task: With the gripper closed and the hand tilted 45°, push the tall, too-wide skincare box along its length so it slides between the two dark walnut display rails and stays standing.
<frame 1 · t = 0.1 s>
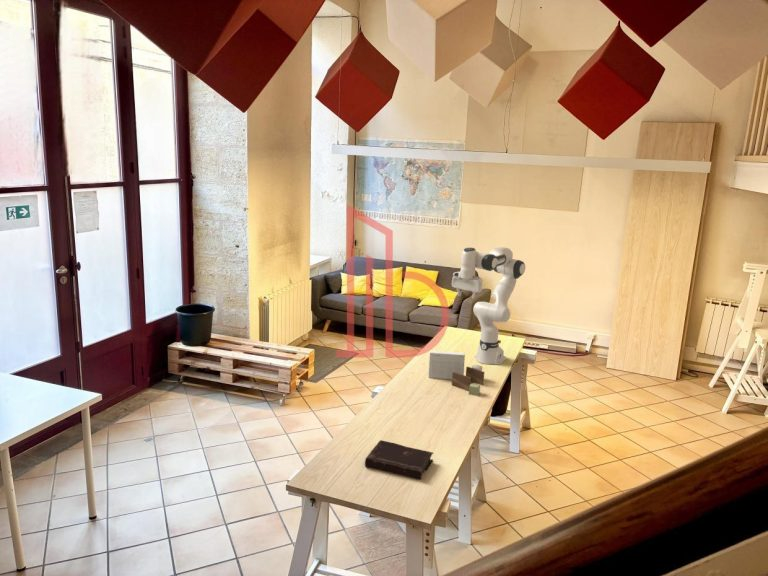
hand: (465, 297, 364), 48 cm above the table, tool pointing down, fingers open, 8 cm apart
diary: (399, 465, 259), on the table
olive block: (474, 393, 340), on the table
skincare box: (445, 378, 363), on the table
grey rounded capsule: (476, 379, 362), on the table
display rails: (467, 385, 352), on the table
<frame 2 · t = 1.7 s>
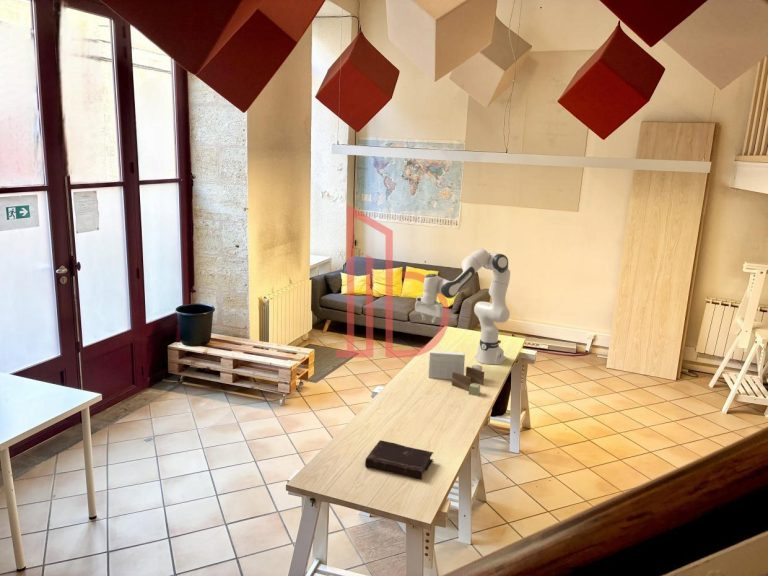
hand: (428, 321, 377), 29 cm above the table, tool pointing down, fingers open, 6 cm apart
nothing on the table moved.
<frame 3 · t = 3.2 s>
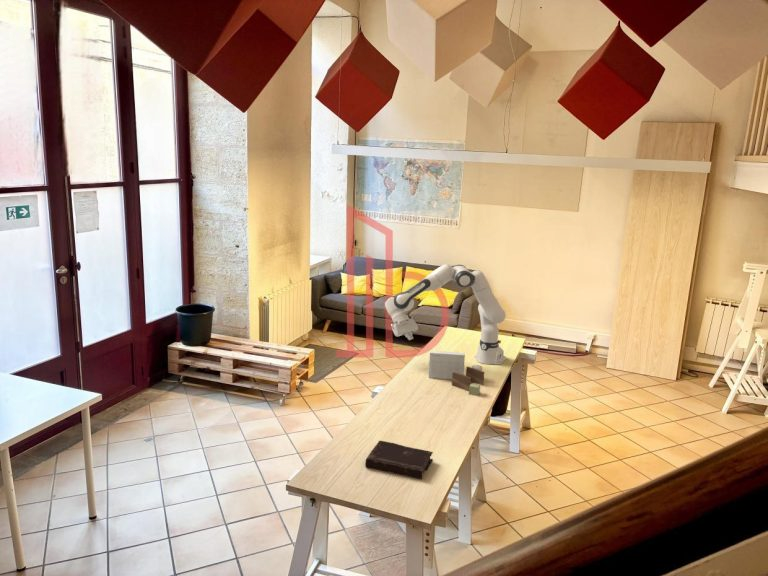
hand: (411, 339, 377), 18 cm above the table, tool tilted 45°, fingers closed
nothing on the table moved.
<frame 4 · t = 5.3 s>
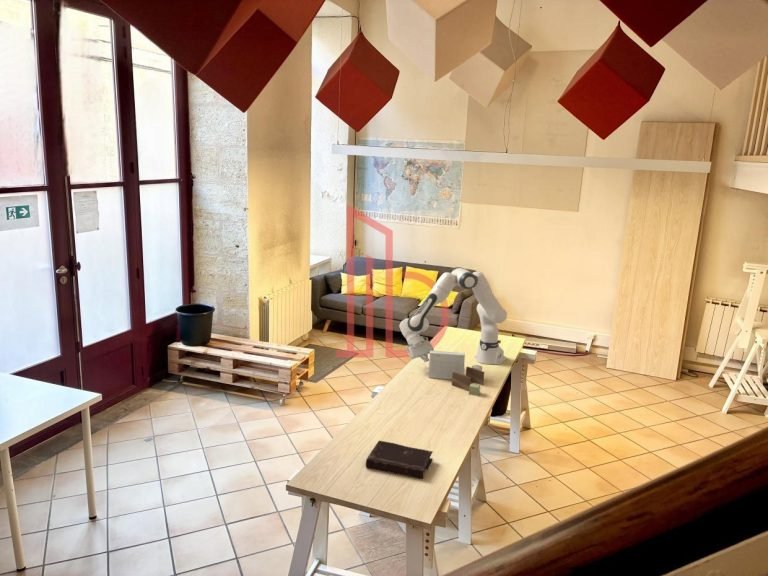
hand: (427, 361, 371), 6 cm above the table, tool tilted 45°, fingers closed
nothing on the table moved.
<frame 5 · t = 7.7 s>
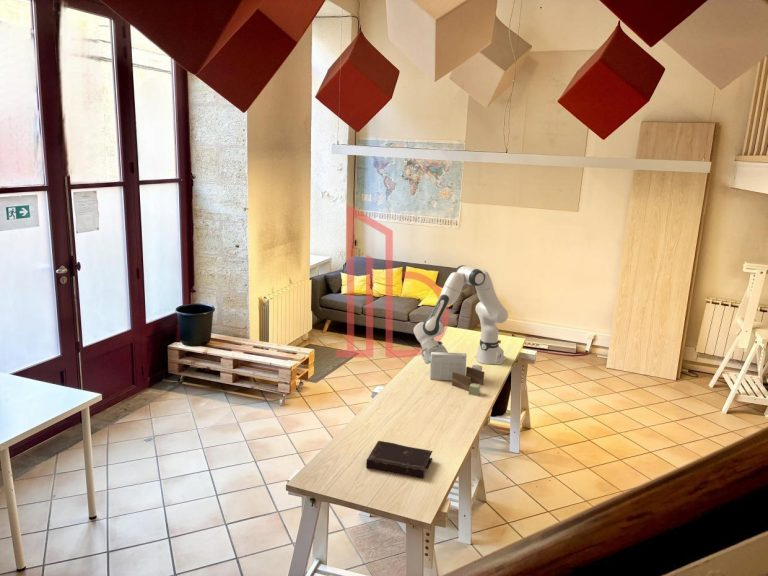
hand: (441, 366, 364), 6 cm above the table, tool tilted 45°, fingers closed
skincare box: (447, 379, 361), on the table
everything else where it was.
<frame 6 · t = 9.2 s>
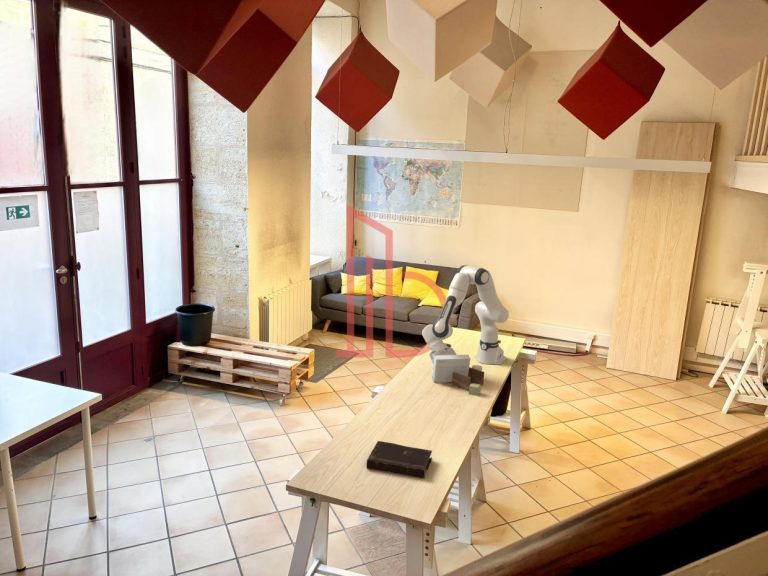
hand: (450, 369, 359), 6 cm above the table, tool tilted 45°, fingers closed
skincare box: (449, 380, 358), on the table, touching gripper
everything else where it was.
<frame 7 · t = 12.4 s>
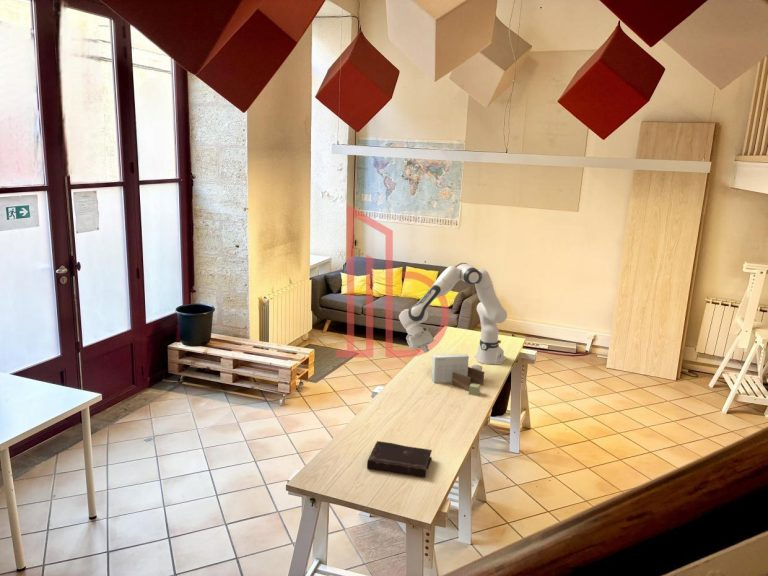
hand: (427, 351, 370), 12 cm above the table, tool tilted 45°, fingers closed
skincare box: (449, 381, 358), on the table
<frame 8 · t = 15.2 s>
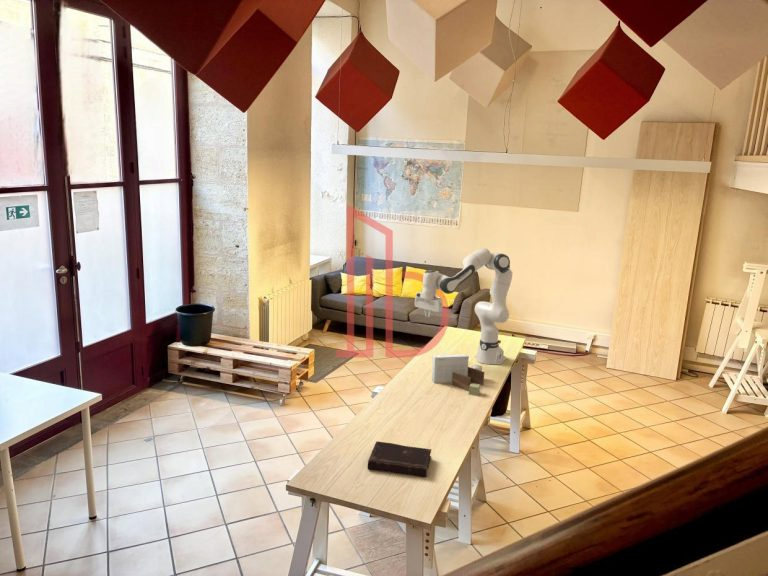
hand: (427, 316, 380), 31 cm above the table, tool pointing down, fingers closed
at the end: skincare box inside the target area (5.6 cm from its centre), on the table; skincare box tilted 0° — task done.
